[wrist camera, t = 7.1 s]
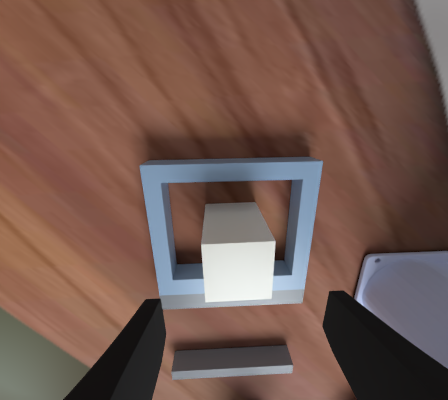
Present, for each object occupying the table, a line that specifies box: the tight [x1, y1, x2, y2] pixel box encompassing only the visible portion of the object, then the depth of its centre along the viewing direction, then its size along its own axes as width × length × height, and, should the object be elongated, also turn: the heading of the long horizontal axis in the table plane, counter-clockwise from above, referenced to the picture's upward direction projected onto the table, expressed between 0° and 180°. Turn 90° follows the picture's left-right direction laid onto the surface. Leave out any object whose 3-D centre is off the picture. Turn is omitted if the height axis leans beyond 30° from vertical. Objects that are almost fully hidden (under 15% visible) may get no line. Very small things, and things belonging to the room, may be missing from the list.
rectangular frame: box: [140, 157, 323, 380], centre depth 18 cm, size 12×21×2 cm, turn 1°
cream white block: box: [201, 202, 276, 302], centre depth 15 cm, size 4×4×6 cm
